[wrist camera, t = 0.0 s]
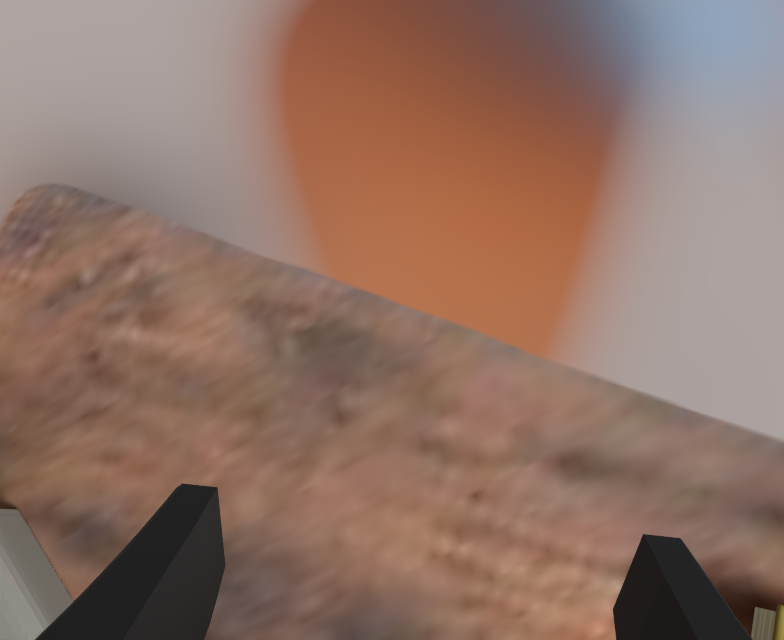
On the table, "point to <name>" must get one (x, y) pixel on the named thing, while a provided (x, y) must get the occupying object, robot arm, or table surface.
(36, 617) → the digital clock
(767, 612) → the hardcover book
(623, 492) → the table surface
